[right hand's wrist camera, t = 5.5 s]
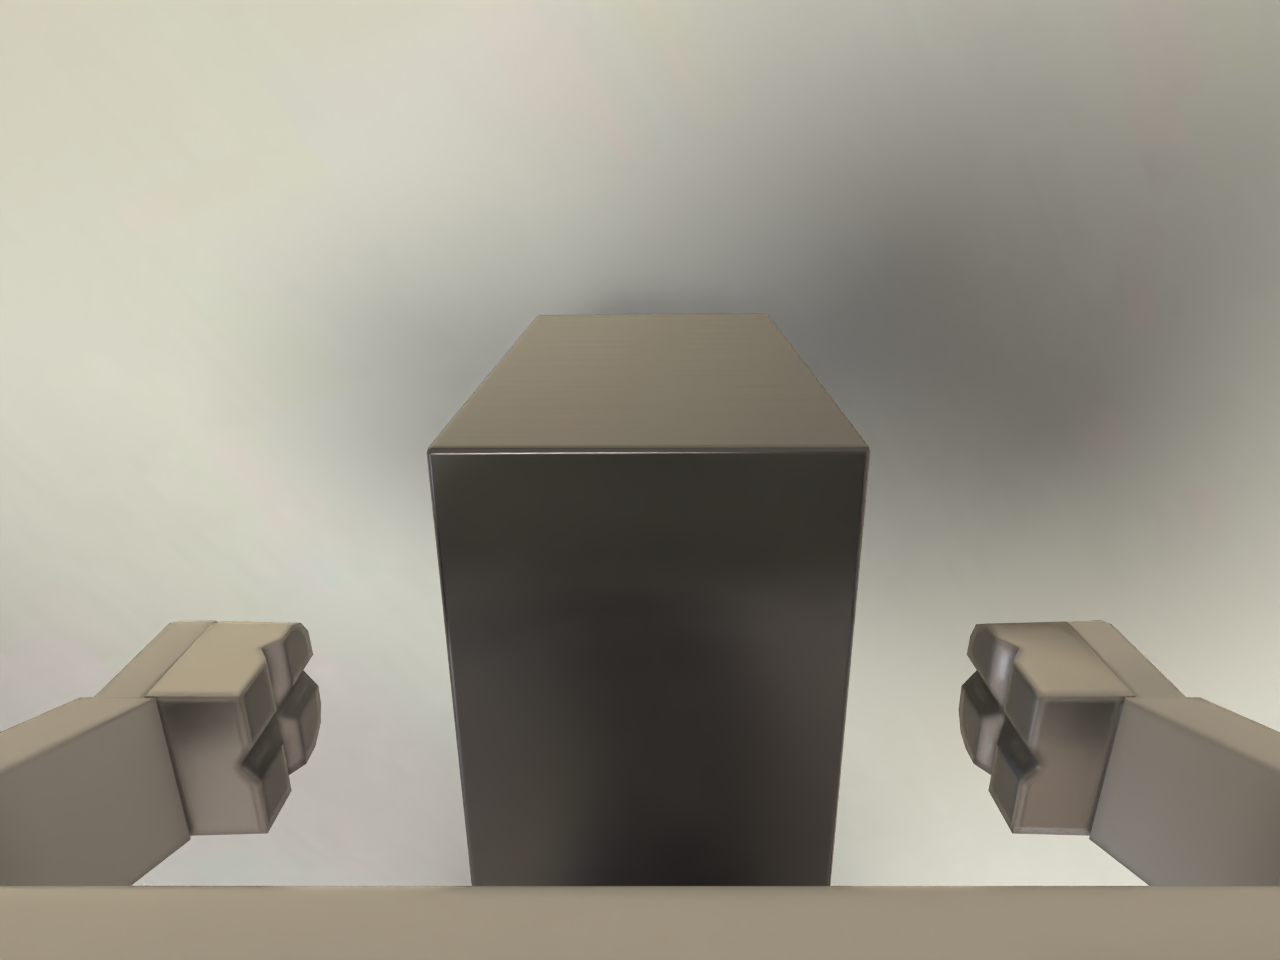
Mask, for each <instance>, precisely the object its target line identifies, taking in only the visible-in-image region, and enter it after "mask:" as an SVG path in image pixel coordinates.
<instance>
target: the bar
mask: <svg viewBox="0 0 1280 960" xmlns="http://www.w3.org/2000/svg"><path fill="white" fill-rule="evenodd" d="M869 459H870V450H869V447H868V445H867V444H866V443H865V441H864V440H863V439H862V438H861V436H860V435H859V434H858V432H857V431H856V430H855V428H854V427H853V426H852V424H851V423H850V422H849V420H848V419H847V418H846V417H845V415H844V414H843V413H842V411H841V410H840V409H839V407H838V406H837V405H836V403H835V402H834V401H833V400H832V398H831V397H830V396H829V394H828V393H827V392H826V390H825V389H824V388H823V386H822V385H821V384H820V383H819V381H818V380H817V379H816V377H815V376H814V375H813V373H812V372H811V371H810V369H809V368H808V367H807V366H806V364H805V363H804V362H803V360H802V359H801V358H800V356H799V355H798V354H797V352H796V351H795V350H794V348H793V347H792V346H791V345H790V343H789V342H788V341H787V339H786V338H785V337H784V335H783V334H782V333H781V331H780V330H779V329H778V328H777V326H776V325H775V324H774V322H773V321H772V320H771V318H770V317H769V316H768V315H767V314H645V315H539V316H537V317H536V318H535V320H534V321H533V322H532V323H531V324H530V326H529V327H528V328H527V329H526V330H525V332H524V333H523V334H522V335H521V336H520V338H519V339H518V340H517V341H516V343H515V344H514V345H513V346H512V347H511V349H510V350H509V351H508V352H507V353H506V355H505V356H504V357H503V358H502V359H501V361H500V362H499V363H498V364H497V365H496V367H495V368H494V369H493V370H492V372H491V373H490V374H489V375H488V376H487V378H486V379H485V380H484V381H483V382H482V384H481V385H480V386H479V387H478V388H477V390H476V391H475V392H474V393H473V394H472V396H471V397H470V398H469V399H468V400H467V402H466V403H465V404H464V405H463V407H462V408H461V409H460V410H459V411H458V413H457V414H456V415H455V416H454V417H453V419H452V420H451V421H450V422H449V423H448V425H447V426H446V427H445V428H444V429H443V431H442V432H441V433H440V434H439V435H438V437H437V438H436V439H435V440H434V442H433V443H432V444H431V445H430V446H429V448H428V450H427V460H428V470H429V479H430V489H431V499H432V508H433V518H434V527H435V537H436V547H437V556H438V566H439V575H440V585H441V595H442V604H443V614H444V623H445V633H446V643H447V652H448V662H449V671H450V681H451V691H452V700H453V710H454V720H455V729H456V739H457V748H458V758H459V768H460V777H461V787H462V796H463V806H464V816H465V825H466V835H467V844H468V854H469V864H470V873H471V883H472V886H830V884H831V873H832V862H833V851H834V840H835V829H836V818H837V808H838V797H839V786H840V775H841V764H842V753H843V742H844V731H845V720H846V709H847V699H848V688H849V677H850V666H851V655H852V644H853V633H854V622H855V611H856V600H857V590H858V579H859V568H860V557H861V546H862V535H863V524H864V513H865V502H866V491H867V480H868V470H869Z"/></svg>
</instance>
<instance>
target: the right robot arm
mask: <svg viewBox="0 0 1280 960" xmlns="http://www.w3.org/2000/svg"><path fill="white" fill-rule="evenodd" d="M312 655H313V652H312V647H311V642H310V638H309V633H308V630H307V629H306V628H305V627H304V626H303V625H302V624H301V623H280V622H228V621H221V622H217V621H180V622H174V623H169V624H168V625H167V626H166V627H165V628H164V629H163V630H162V631H161V632H160V633H159V634H158V635H157V636H156V637H155V638H154V639H153V640H152V641H151V642H150V643H149V644H148V645H147V646H146V647H145V648H144V649H143V650H142V651H141V652H140V653H139V654H138V655H137V656H136V657H135V658H134V659H133V660H132V661H131V662H130V663H129V664H128V665H127V666H125V667H124V668H123V669H122V670H121V671H120V672H119V673H118V674H117V675H116V676H115V677H114V678H113V679H112V680H111V681H110V682H109V683H108V684H107V685H106V686H105V687H104V688H103V689H102V690H101V691H100V692H99V693H98V694H97V695H96V696H95V697H94V698H78V699H76V700H73V701H71V702H69V703H66V704H64V705H62V706H60V707H57V708H55V709H53V710H50V711H48V712H46V713H43V714H41V715H39V716H37V717H34V718H32V719H30V720H27V721H25V722H23V723H20V724H18V725H16V726H14V727H11V728H9V729H7V730H4V731H2V732H0V960H1280V732H1278V731H1275V730H1273V729H1271V728H1269V727H1266V726H1264V725H1262V724H1259V723H1257V722H1255V721H1252V720H1250V719H1248V718H1246V717H1243V716H1241V715H1239V714H1236V713H1234V712H1232V711H1230V710H1227V709H1225V708H1223V707H1220V706H1218V705H1216V704H1214V703H1211V702H1209V701H1207V700H1204V699H1202V698H1186V697H1185V696H1184V695H1183V694H1182V693H1181V692H1180V691H1179V690H1178V689H1177V688H1176V687H1175V686H1174V685H1173V684H1172V683H1171V682H1170V681H1169V680H1168V679H1167V678H1166V677H1165V676H1164V675H1163V674H1162V673H1161V672H1160V671H1159V670H1158V669H1157V668H1156V667H1155V666H1154V665H1153V664H1152V663H1151V662H1150V661H1149V660H1148V659H1146V658H1145V657H1144V656H1143V655H1142V654H1141V653H1140V652H1139V651H1138V650H1137V649H1136V648H1135V647H1134V646H1133V645H1132V644H1131V643H1130V642H1129V641H1128V640H1127V639H1126V638H1125V637H1124V636H1123V635H1122V634H1121V633H1120V632H1119V631H1118V630H1117V629H1116V628H1115V627H1114V626H1113V625H1112V624H1109V623H1106V622H1104V621H1101V620H1098V621H1073V622H1035V623H994V624H977V625H975V628H974V630H973V632H972V634H971V636H970V641H969V646H968V652H967V655H968V657H969V658H970V660H971V662H972V663H973V665H974V666H975V668H976V669H977V671H976V672H975V673H974V674H973V675H972V676H971V677H970V678H969V679H968V680H967V681H966V682H965V683H964V684H963V685H962V688H961V696H960V704H959V718H960V729H961V734H962V738H963V741H964V744H965V747H966V750H967V752H968V754H969V755H970V757H971V759H972V761H973V763H974V764H975V765H977V766H978V767H980V768H981V769H983V770H984V771H986V772H987V773H989V774H991V780H990V785H989V792H990V794H991V796H992V798H993V799H994V801H995V803H996V805H997V806H998V808H999V810H1000V812H1001V814H1002V815H1003V817H1004V819H1005V821H1006V823H1007V824H1008V826H1009V828H1010V830H1011V831H1012V833H1017V834H1054V835H1090V838H1089V839H1090V840H1091V841H1093V842H1094V843H1095V844H1096V845H1098V846H1099V847H1100V848H1102V849H1103V850H1104V851H1105V852H1107V853H1108V854H1109V855H1111V856H1112V857H1113V858H1114V859H1116V860H1117V861H1118V862H1120V863H1121V864H1122V865H1123V866H1125V867H1126V868H1127V869H1129V870H1130V871H1131V872H1132V873H1134V874H1135V875H1136V876H1138V877H1139V878H1140V879H1141V880H1143V881H1144V882H1145V883H1147V884H1148V885H1149V886H131V885H132V884H134V883H135V882H136V881H137V880H139V879H140V878H141V877H143V876H144V875H145V874H147V873H148V872H149V871H150V870H152V869H153V868H154V867H156V866H157V865H158V864H159V863H161V862H162V861H163V860H165V859H166V858H167V857H168V856H170V855H171V854H172V853H174V852H175V851H176V850H177V849H179V848H180V847H181V846H183V845H184V844H185V843H186V842H188V841H189V840H190V835H225V834H260V833H268V832H269V830H270V828H271V826H272V824H273V823H274V821H275V819H276V817H277V815H278V814H279V812H280V810H281V808H282V807H283V805H284V803H285V801H286V799H287V798H288V796H289V794H290V792H291V785H290V780H289V774H291V773H293V772H294V771H296V770H297V769H299V768H300V767H302V766H303V765H305V764H306V763H307V761H308V759H309V757H310V755H311V753H312V751H313V750H314V748H315V745H316V741H317V736H318V732H319V728H320V723H321V701H320V694H319V688H318V685H317V684H316V683H315V682H314V681H313V680H312V679H311V678H310V677H309V676H308V675H307V674H306V673H305V672H304V671H303V669H304V668H305V666H306V665H307V663H308V662H309V660H310V658H311V657H312Z"/></svg>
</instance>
